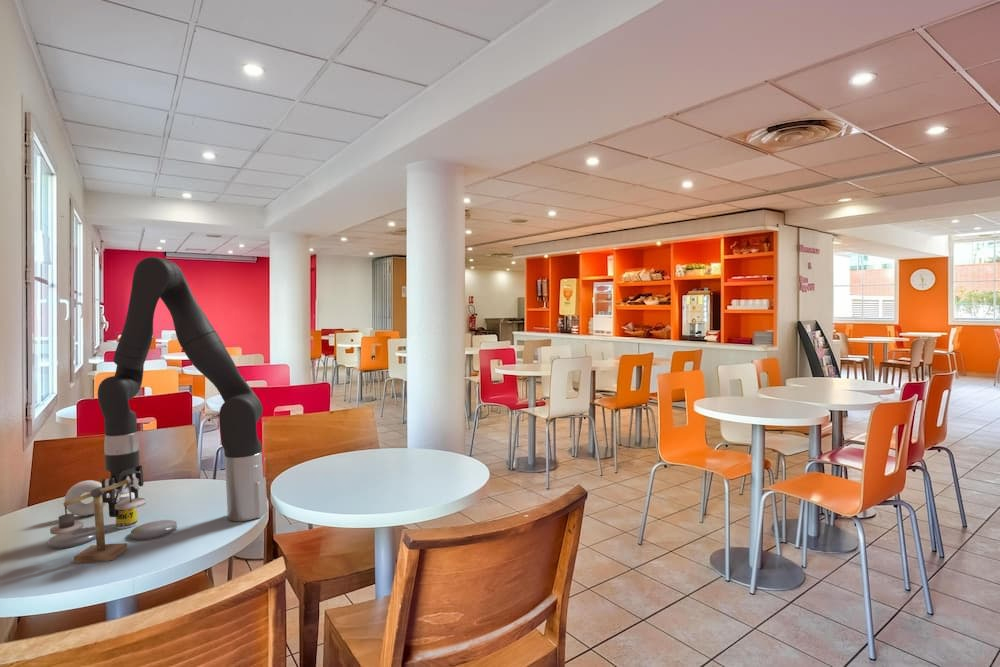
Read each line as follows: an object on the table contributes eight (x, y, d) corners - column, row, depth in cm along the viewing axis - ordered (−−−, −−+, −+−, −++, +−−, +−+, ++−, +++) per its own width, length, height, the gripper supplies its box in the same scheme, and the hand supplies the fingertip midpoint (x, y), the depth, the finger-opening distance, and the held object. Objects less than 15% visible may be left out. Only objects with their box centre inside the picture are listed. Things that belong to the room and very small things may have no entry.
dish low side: (108, 530, 142) (107, 526, 142) (82, 547, 132) (81, 542, 132) (67, 533, 141) (66, 528, 141) (38, 550, 131) (37, 545, 131)
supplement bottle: (114, 530, 142) (112, 498, 142) (117, 524, 146) (115, 493, 146) (136, 526, 144) (134, 495, 144) (138, 520, 148) (137, 490, 148)
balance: (154, 547, 131) (149, 474, 130) (140, 558, 125) (135, 482, 124) (64, 553, 129) (59, 479, 128) (45, 565, 123) (40, 487, 122)
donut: (64, 521, 150) (62, 485, 149) (66, 517, 153) (64, 482, 152) (108, 513, 155) (106, 478, 154) (110, 510, 158) (108, 475, 157)
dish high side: (184, 523, 146) (183, 518, 145) (164, 538, 136) (164, 534, 136) (144, 525, 145) (144, 521, 145) (122, 541, 135) (121, 536, 135)
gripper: (120, 456, 138) (123, 520, 138) (151, 443, 152) (153, 500, 152) (89, 457, 137) (91, 521, 138) (123, 444, 151) (125, 502, 152)
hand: (124, 510), depth 145 cm, fingers open, 8 cm apart
